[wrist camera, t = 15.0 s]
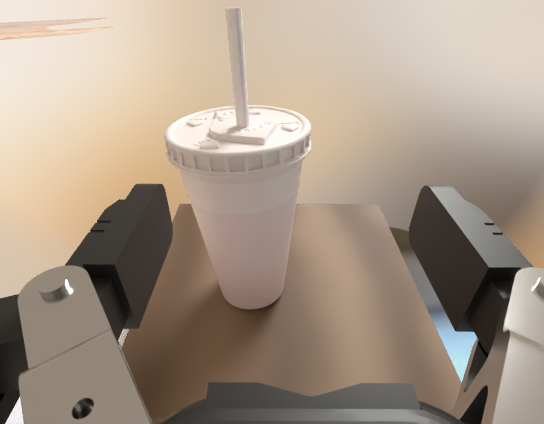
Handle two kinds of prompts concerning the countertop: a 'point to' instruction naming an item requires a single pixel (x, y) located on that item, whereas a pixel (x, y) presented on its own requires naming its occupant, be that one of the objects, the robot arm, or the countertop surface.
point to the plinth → (291, 318)
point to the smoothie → (242, 183)
